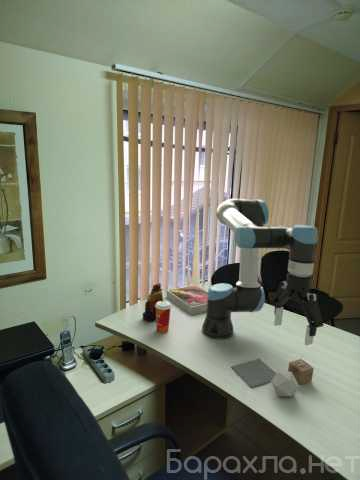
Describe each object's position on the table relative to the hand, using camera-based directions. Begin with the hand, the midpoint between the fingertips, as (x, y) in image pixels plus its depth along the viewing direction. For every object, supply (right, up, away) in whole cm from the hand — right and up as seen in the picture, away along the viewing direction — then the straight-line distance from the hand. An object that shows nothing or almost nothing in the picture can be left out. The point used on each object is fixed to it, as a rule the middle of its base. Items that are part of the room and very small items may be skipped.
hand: (292, 333), depth 100 cm
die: (-1, -22, +4) cm, 23 cm away
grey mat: (-8, -20, +15) cm, 26 cm away
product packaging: (-30, -7, +80) cm, 86 cm away
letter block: (+7, -21, +13) cm, 26 cm away
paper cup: (-46, -13, +44) cm, 65 cm away
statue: (-53, -10, +56) cm, 78 cm away
